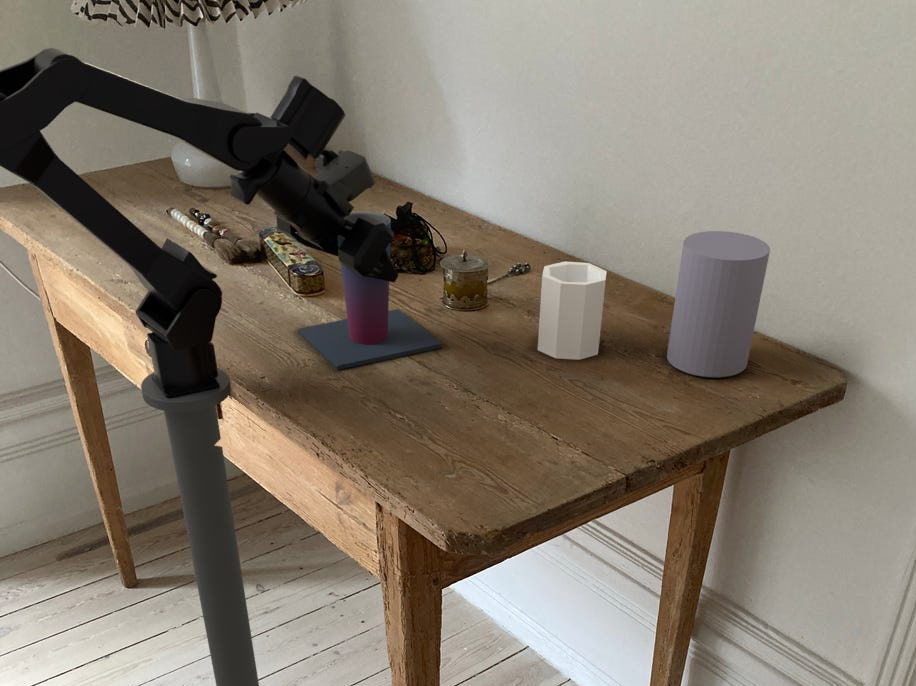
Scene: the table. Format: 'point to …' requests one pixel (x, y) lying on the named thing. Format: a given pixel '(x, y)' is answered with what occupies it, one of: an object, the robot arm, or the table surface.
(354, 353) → the placemat
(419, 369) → the table surface
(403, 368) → the table surface
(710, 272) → the container
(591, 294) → the white octagonal pot
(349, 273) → the cup
